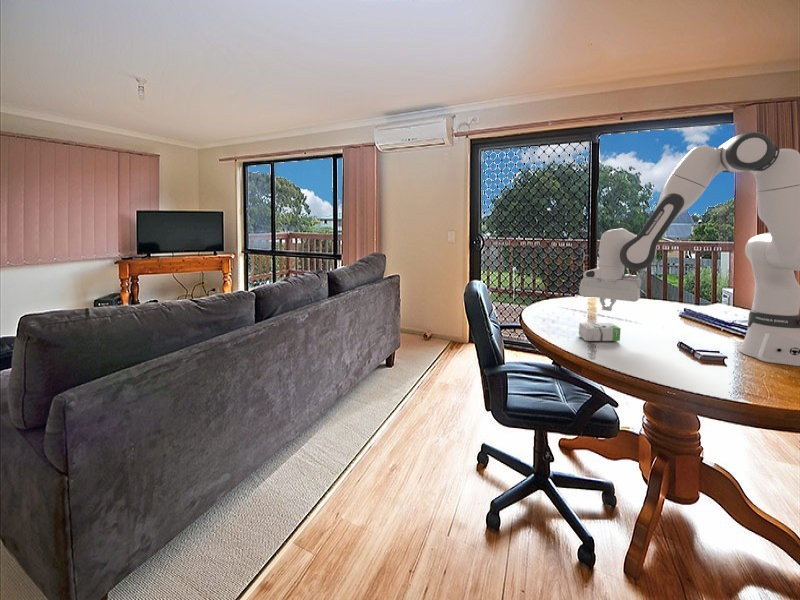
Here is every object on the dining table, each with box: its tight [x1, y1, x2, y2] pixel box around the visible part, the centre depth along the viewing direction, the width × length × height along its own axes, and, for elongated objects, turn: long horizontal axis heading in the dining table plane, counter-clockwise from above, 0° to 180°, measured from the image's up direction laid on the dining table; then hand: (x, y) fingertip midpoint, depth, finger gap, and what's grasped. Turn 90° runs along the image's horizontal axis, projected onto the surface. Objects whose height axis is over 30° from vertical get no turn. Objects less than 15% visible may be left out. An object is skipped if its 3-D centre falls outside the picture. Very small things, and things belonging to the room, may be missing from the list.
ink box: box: [578, 322, 622, 342], centre depth 151 cm, size 9×5×12 cm
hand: (606, 310), depth 153 cm, fingers closed
